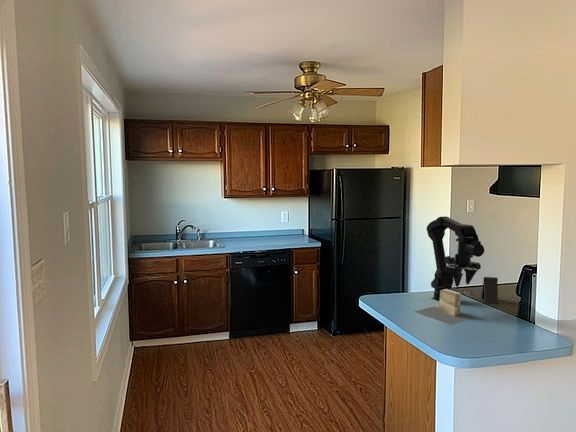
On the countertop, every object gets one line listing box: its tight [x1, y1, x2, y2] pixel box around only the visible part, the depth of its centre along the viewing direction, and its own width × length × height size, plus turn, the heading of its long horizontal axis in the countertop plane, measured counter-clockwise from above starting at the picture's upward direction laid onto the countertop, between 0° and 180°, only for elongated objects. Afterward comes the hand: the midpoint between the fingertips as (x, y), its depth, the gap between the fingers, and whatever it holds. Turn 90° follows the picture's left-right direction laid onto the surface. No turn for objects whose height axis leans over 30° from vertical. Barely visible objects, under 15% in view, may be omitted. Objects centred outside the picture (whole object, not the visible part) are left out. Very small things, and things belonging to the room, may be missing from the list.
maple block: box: [438, 288, 462, 316], centre depth 208 cm, size 4×8×10 cm, turn 35°
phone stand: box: [480, 276, 499, 304], centre depth 230 cm, size 9×6×12 cm, turn 170°
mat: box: [413, 305, 472, 326], centre depth 206 cm, size 15×20×1 cm
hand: (462, 285), depth 213 cm, fingers open, 7 cm apart
